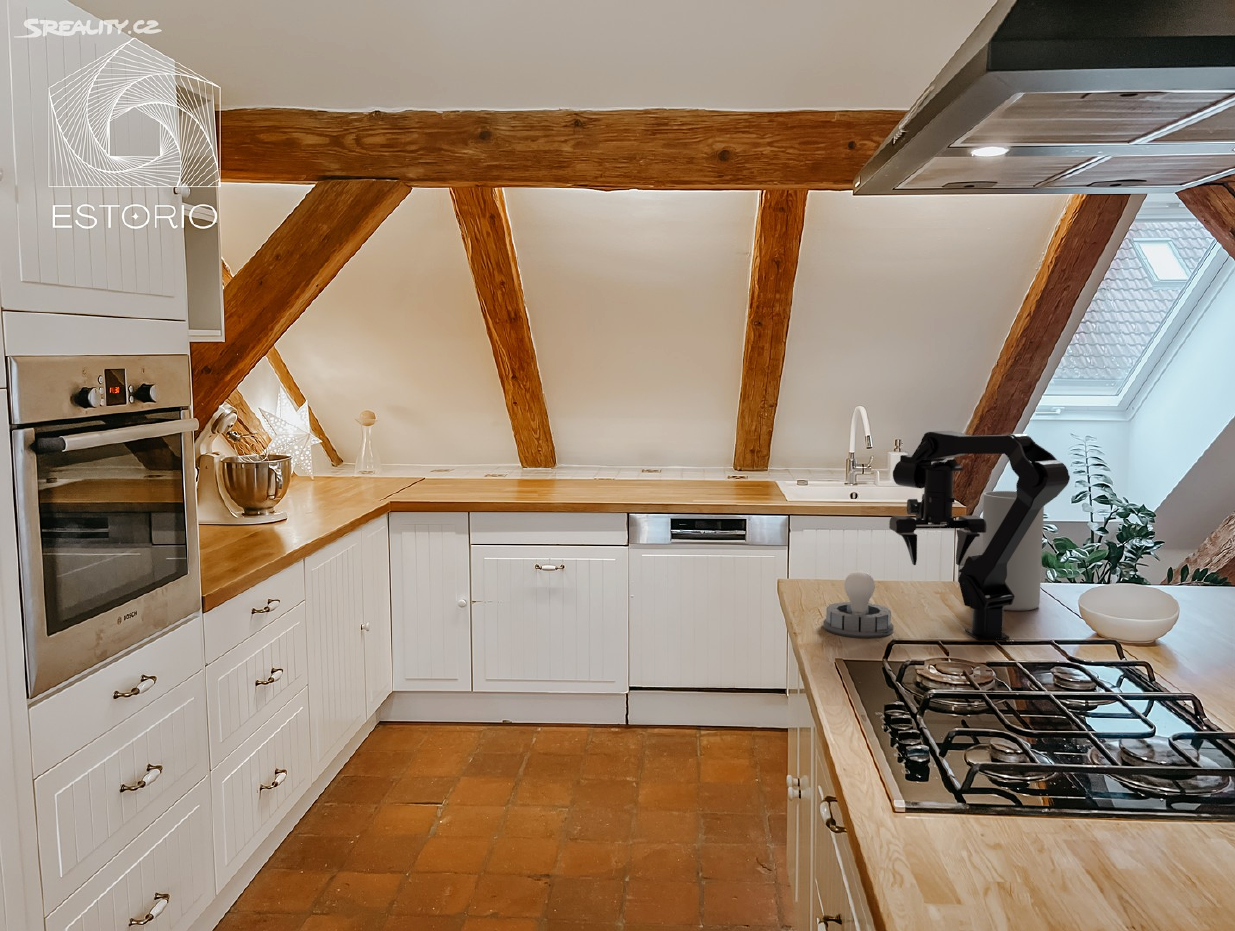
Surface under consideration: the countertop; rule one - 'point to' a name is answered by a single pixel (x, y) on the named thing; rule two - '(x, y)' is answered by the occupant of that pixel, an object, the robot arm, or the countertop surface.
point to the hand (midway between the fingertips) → (936, 564)
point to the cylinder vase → (1017, 551)
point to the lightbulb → (859, 591)
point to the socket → (858, 621)
